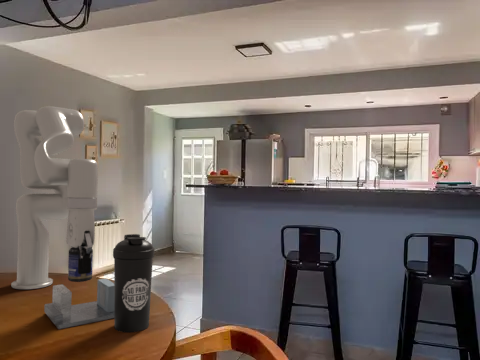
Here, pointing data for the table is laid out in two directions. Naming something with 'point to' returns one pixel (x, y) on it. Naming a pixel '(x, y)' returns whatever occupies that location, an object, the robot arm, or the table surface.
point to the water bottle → (132, 283)
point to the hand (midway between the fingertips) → (80, 270)
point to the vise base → (73, 310)
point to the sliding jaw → (105, 294)
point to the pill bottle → (73, 266)
